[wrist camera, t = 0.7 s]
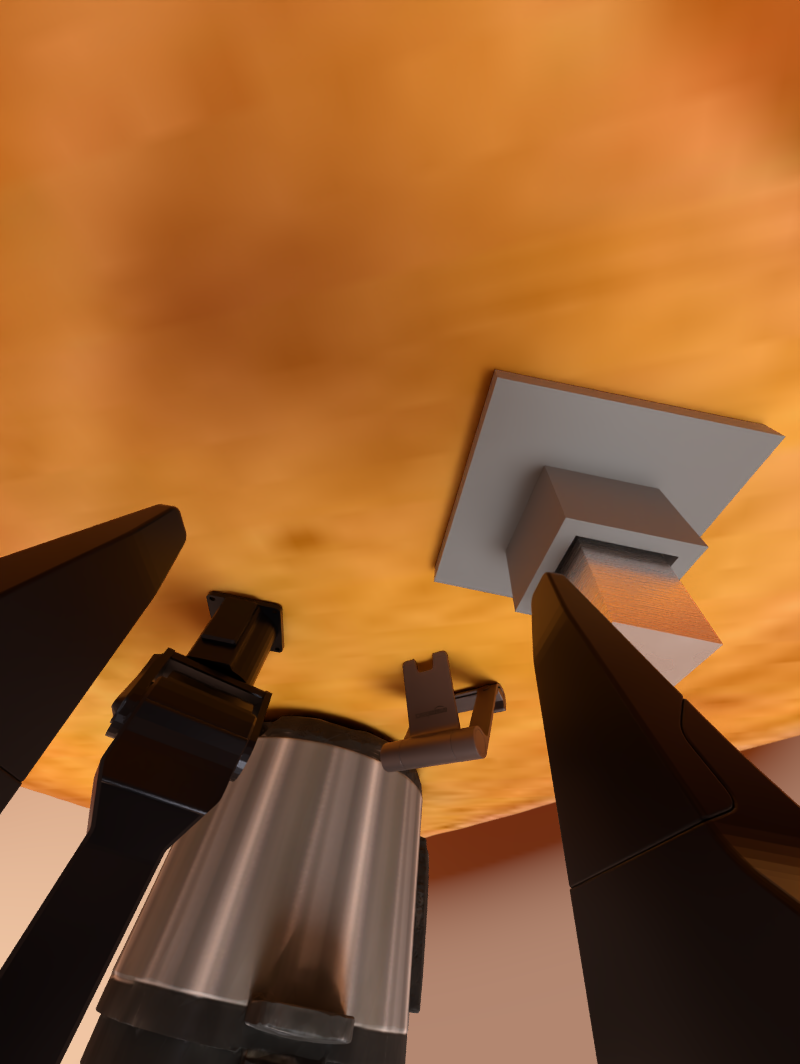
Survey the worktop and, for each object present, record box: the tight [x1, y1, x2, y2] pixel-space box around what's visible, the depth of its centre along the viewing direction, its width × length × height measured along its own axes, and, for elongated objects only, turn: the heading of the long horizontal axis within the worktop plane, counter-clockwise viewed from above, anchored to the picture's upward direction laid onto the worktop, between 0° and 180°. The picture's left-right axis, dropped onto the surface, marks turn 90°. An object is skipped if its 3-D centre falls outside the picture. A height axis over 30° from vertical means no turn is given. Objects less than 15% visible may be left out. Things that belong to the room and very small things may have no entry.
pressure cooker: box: [80, 716, 429, 1064], centre depth 38 cm, size 30×28×32 cm
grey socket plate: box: [434, 370, 785, 615], centre depth 21 cm, size 14×14×6 cm
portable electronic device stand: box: [380, 651, 506, 773], centre depth 33 cm, size 9×8×8 cm
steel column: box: [554, 536, 723, 686], centre depth 18 cm, size 4×4×9 cm
